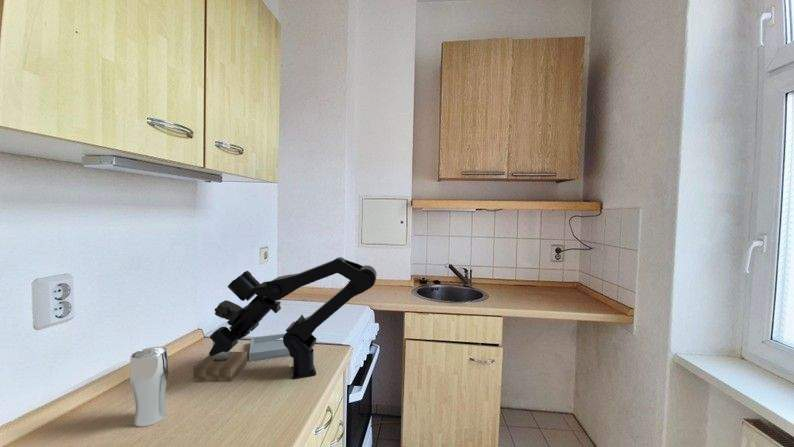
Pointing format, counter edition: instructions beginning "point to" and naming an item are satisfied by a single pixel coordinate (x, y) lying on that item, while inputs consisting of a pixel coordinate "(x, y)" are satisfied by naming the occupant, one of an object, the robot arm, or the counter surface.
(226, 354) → the grey rectangular block
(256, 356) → the tray
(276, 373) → the counter surface
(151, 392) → the beer glass
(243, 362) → the socket
